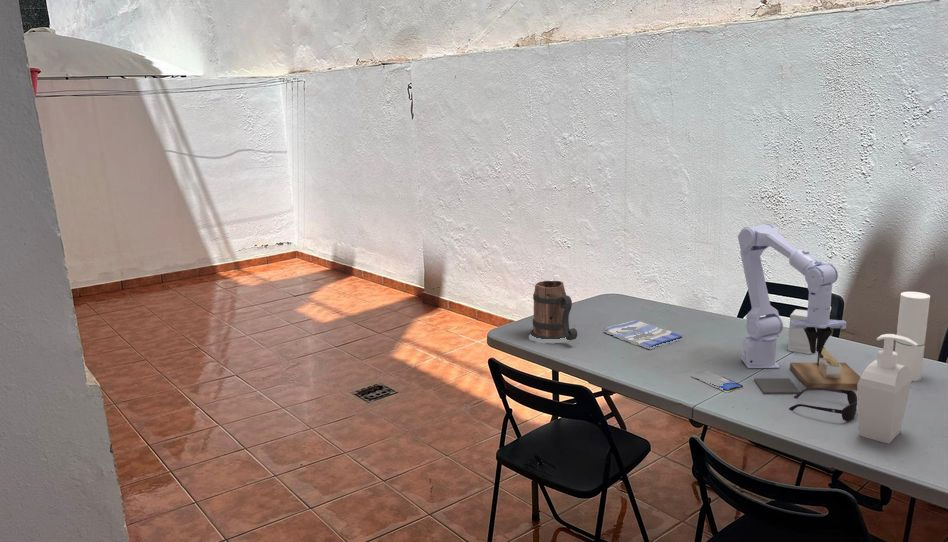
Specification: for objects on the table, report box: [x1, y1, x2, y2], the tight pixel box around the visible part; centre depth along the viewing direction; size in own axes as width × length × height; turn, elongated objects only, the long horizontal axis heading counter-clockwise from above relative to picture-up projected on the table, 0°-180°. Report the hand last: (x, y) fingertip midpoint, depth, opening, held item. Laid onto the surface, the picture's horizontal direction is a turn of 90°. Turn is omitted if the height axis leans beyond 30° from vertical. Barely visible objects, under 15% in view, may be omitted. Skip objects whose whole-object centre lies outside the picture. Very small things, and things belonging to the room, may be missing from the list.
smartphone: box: [709, 376, 744, 391], centre depth 208 cm, size 8×15×1 cm, turn 26°
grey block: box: [818, 357, 841, 379], centre depth 204 cm, size 4×6×4 cm, turn 173°
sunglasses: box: [788, 387, 858, 423], centre depth 187 cm, size 14×16×5 cm
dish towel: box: [604, 319, 683, 348], centre depth 250 cm, size 17×24×3 cm
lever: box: [821, 347, 840, 367], centre depth 205 cm, size 14×2×1 cm, turn 173°
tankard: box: [529, 280, 578, 341], centre depth 249 cm, size 24×17×20 cm
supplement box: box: [787, 308, 817, 355], centre depth 228 cm, size 7×7×13 cm
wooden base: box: [789, 352, 861, 391], centre depth 205 cm, size 16×16×6 cm
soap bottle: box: [856, 333, 918, 445], centre depth 169 cm, size 12×10×26 cm
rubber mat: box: [753, 377, 801, 395], centre depth 202 cm, size 10×10×1 cm
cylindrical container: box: [894, 291, 931, 382], centre depth 202 cm, size 7×7×25 cm
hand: (815, 352), depth 199 cm, fingers closed
